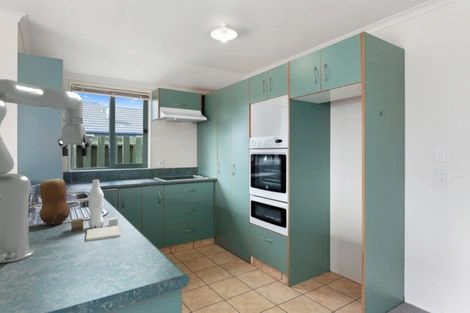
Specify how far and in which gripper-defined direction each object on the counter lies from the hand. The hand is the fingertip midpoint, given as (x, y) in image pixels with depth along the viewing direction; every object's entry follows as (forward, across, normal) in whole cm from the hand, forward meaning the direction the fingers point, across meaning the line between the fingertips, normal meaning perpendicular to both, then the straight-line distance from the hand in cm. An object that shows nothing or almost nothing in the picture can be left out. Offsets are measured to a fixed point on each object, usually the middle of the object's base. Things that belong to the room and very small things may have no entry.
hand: (74, 156), depth 134 cm
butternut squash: (+38, -18, +10) cm, 43 cm away
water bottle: (+38, +7, +5) cm, 39 cm away
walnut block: (+38, 0, +1) cm, 38 cm away
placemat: (+37, +17, -4) cm, 41 cm away
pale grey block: (+38, +14, +9) cm, 41 cm away
